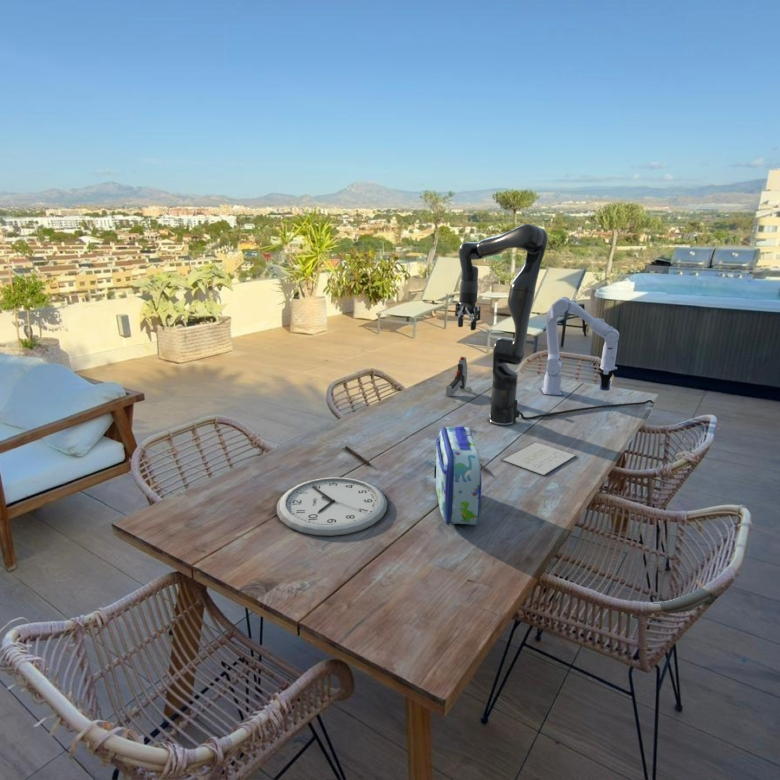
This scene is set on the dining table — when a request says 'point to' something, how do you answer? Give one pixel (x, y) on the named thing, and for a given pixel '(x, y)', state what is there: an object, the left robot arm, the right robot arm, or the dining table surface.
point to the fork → (483, 468)
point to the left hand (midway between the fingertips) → (466, 328)
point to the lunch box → (458, 476)
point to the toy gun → (458, 378)
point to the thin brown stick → (357, 455)
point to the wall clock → (331, 506)
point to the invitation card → (539, 458)
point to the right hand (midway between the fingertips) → (604, 386)
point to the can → (605, 388)
